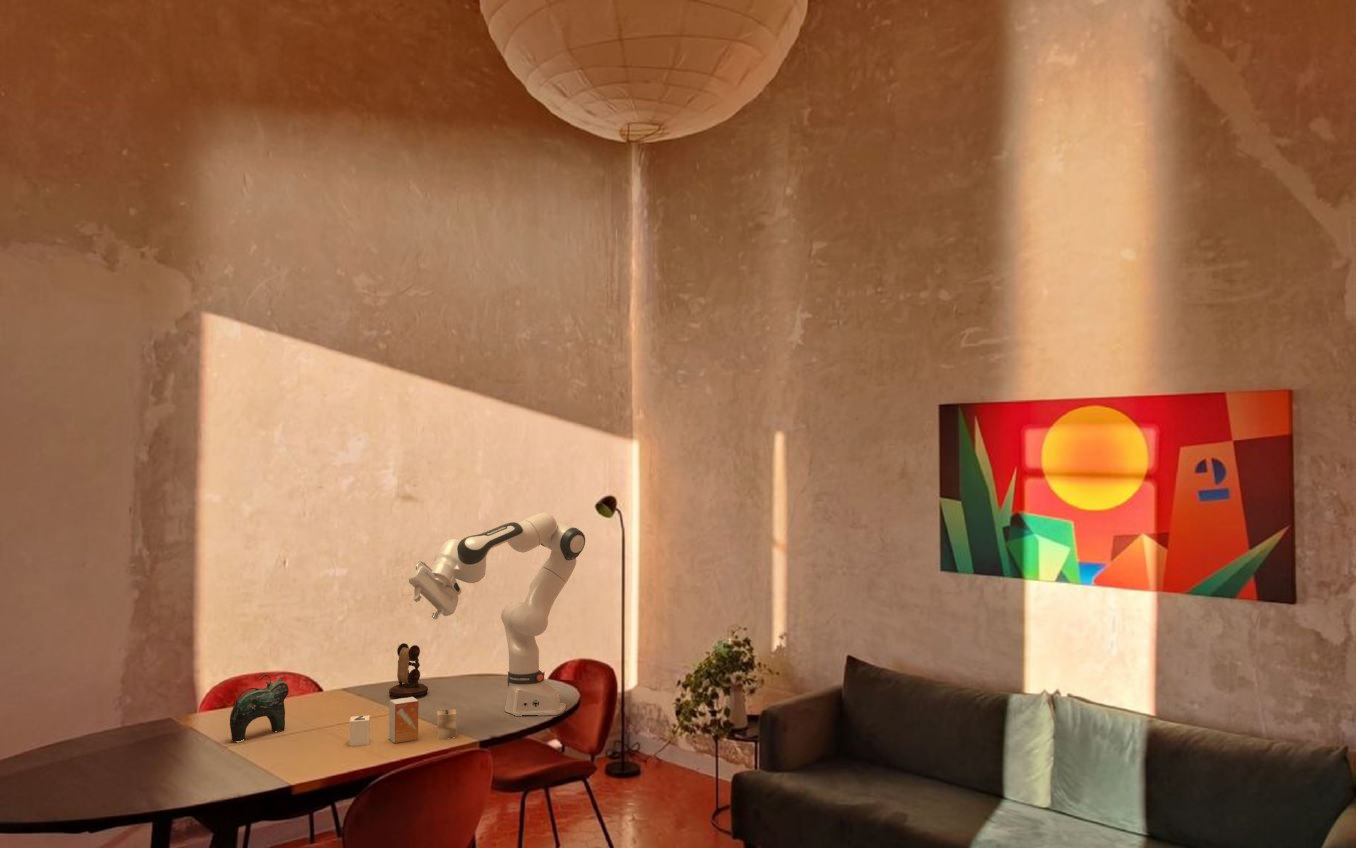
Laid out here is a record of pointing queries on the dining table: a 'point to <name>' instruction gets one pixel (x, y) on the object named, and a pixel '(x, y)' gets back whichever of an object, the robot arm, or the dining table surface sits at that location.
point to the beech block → (446, 724)
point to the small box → (403, 719)
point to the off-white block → (359, 730)
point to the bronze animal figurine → (259, 708)
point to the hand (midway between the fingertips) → (425, 609)
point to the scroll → (403, 675)
